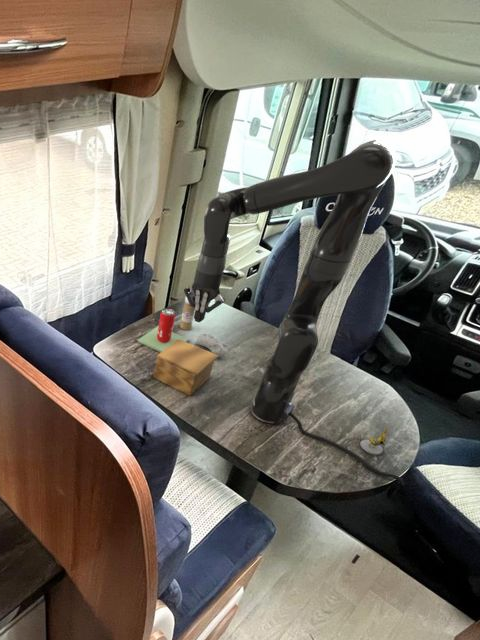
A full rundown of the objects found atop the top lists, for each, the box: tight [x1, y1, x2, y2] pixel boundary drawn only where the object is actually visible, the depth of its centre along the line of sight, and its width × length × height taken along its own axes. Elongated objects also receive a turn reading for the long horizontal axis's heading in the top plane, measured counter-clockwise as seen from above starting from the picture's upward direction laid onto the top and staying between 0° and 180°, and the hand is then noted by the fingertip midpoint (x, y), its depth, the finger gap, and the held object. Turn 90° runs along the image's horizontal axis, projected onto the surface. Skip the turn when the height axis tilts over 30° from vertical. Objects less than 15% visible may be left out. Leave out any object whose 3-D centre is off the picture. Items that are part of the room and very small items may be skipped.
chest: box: [152, 356, 215, 396], centre depth 149 cm, size 14×13×9 cm
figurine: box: [359, 426, 388, 456], centre depth 125 cm, size 6×6×8 cm
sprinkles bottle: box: [179, 296, 195, 331], centre depth 173 cm, size 5×5×14 cm
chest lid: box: [156, 339, 219, 375], centre depth 146 cm, size 15×13×1 cm
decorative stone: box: [195, 333, 230, 358], centre depth 163 cm, size 13×7×5 cm, turn 39°
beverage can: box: [157, 308, 176, 343], centre depth 165 cm, size 5×5×12 cm
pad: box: [137, 325, 189, 353], centre depth 169 cm, size 14×14×1 cm
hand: (198, 320), depth 137 cm, fingers closed
